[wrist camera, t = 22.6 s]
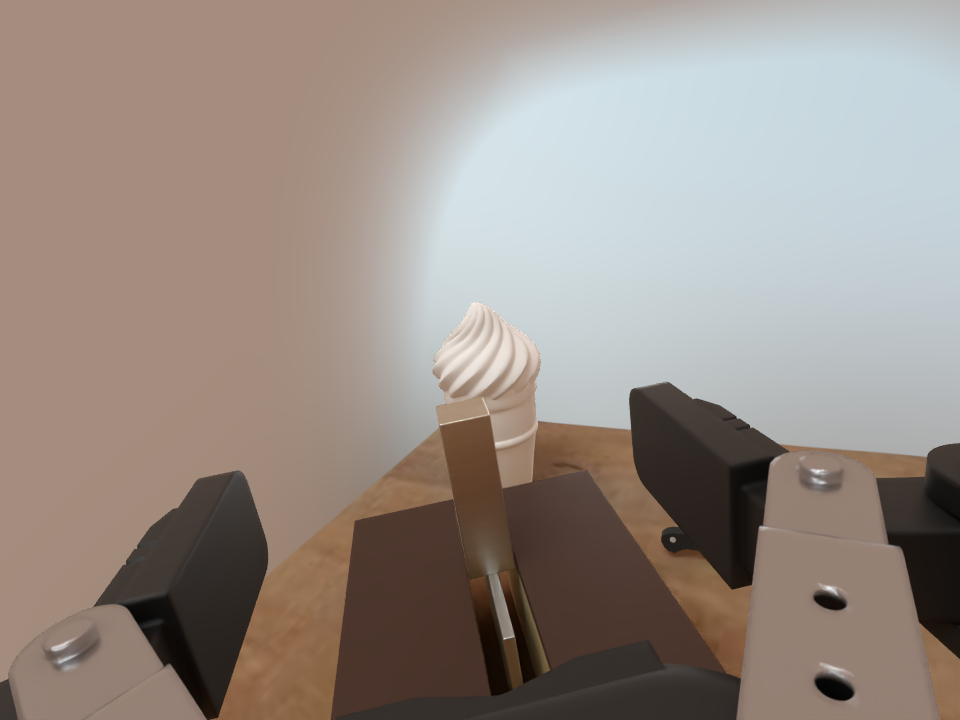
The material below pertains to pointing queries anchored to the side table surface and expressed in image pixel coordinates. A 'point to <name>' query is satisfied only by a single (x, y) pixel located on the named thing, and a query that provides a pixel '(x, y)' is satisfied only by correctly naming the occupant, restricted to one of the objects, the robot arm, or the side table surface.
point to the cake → (533, 583)
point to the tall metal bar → (481, 512)
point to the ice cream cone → (495, 384)
